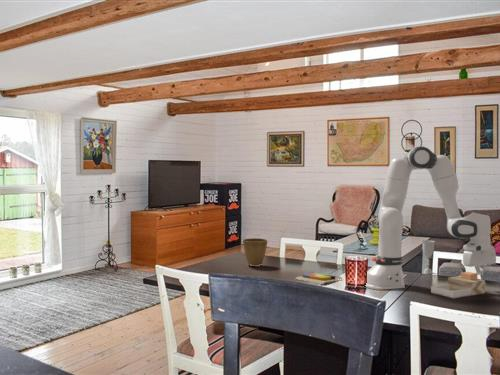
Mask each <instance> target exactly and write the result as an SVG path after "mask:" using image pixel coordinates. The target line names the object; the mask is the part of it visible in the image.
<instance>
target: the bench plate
mask: <svg viewBox="0 0 500 375" xmlns="http://www.w3.org/2000/svg"><path fill="white" fill-rule="evenodd" d="M447 284H450V290H454V291H457V290H463V289H471V296H476V295H481V294H485V293H486V292H485V291H486V288H485V287H486V280H485V279H480V278H477V279H474V280H468V279H463V278H461V275H458V276H457V275H456V276H450V277H448V282H447Z"/></svg>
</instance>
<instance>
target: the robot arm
mask: <svg viewBox="0 0 500 375" xmlns="http://www.w3.org/2000/svg"><path fill="white" fill-rule="evenodd" d="M424 169H425V170H427V171H428V173H429V174H430V176H431V180H432V183H433V186H434V188H435V190H436V191H437V194H438V196H439V197H440V199H441V202H442V205H443V208H444V211H445V216H446V223H445V228H446V232H447V233H448V235H450V236H451V237H454V238H457V239H460V240H461V239H462V240H464V239H469V241H468V242H467V243H465V244H464V245H462V249H463V250H464V251H463V255H462V263H463V265H464V267H468V268H469V267H470V268H472V267H473V268H474V269H475V273H477V276H480V275H484V270H486V266H488V265H495V264H496V263H497V254H496V249H495V247H494V245H492V242H491V237H490V235H491V232H492V230H491V229H492V226H491V225H492V224H491V217H490V216H489V214H487V213H485V212H478V211H472V212H471V213H469V214H467V215H465V216H462V215H461V214H460V209H459V207H458V203H457V199H456V198H457V192H458V190H459V180H458V177H457V173H456V170H455V168H454V166H453V164H452V162H451V160H450V158H449V157H448V156H447V155H444V154H437V155H436V154H435V153H434V152H433V151H432V150H431V149H429V148H428V147H425V146H416V147H413V148H412V149H411V150H409V151H408V153H406V155H405V156H404V157H395V158H393V159H391V161H390V164H389V167H388V168H387V172H386V175H385V176H386V177H385V181H384V187H383V188H384V189H383V192H382V197H381V201H380V205H379V210H378V215H377V218H378V221H379V223H378V226H379V227H378V246H377V247H378V248H377V249H378V250H377V252H378V255H377V257H375V256H372V257H371V261H372V262H375V264H374V265H372V266H371V267H370V269H369V270H367V271H366V272H367V283H366V285H365V286H366V287H365V288H367V289H372V290H378V291H379V290H380V291H381V290H382V291H383V290H394V289H405V282H404V274H403V268H402V264H403V256H402V239H403V223H404V216H403V214H402V213H403V209H404V206H405V201H406V197H407V194H408V188H409V182H410V177H411V174H412V171H414V170H424Z"/></svg>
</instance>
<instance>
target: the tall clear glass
mask: <svg viewBox="0 0 500 375" xmlns="http://www.w3.org/2000/svg"><path fill="white" fill-rule="evenodd" d="M435 242H436V240H429V239H426V240H425V239H424V240H421V243H422V251H423V254H424V257H425V258H426V268H424V270H423V274H429V275H430V274H431V275H433V271H432V268H430V258H431V257H432V256H433V254H434V251H435Z"/></svg>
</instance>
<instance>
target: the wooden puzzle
mask: <svg viewBox="0 0 500 375" xmlns="http://www.w3.org/2000/svg"><path fill="white" fill-rule="evenodd" d="M296 279H298V280H304V281H309V282H312V283H316V284H315V285H318V284H322V285H321V286H324V285H325V284H329V283H335V282H334V281H337V282H339V281H338V279H339V280H340V279H342V280H343V278H342V276H340V275H339V276H338V275H334V274H329V273H328V274H326V273H321V272H320V273H319V272H315V273H314V272H313V273H303V274H302V276H296V278H295V280H296ZM340 281H341V280H340ZM318 286H319V285H318Z"/></svg>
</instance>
